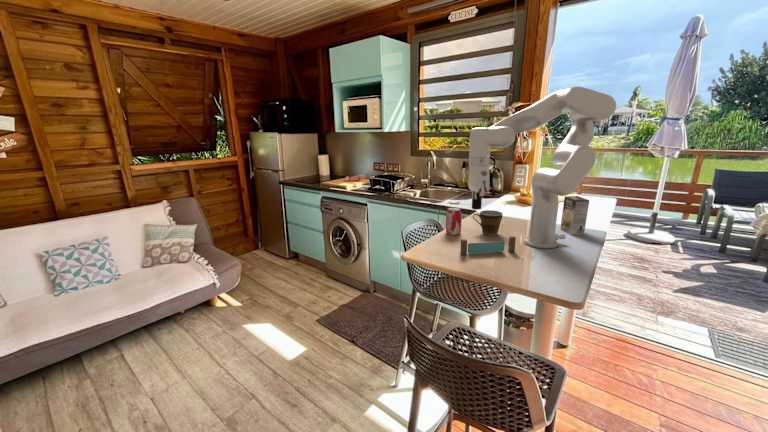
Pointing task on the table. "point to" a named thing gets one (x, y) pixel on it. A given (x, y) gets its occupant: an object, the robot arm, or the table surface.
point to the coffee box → (574, 215)
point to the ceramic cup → (490, 221)
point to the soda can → (453, 221)
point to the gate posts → (510, 247)
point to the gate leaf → (486, 247)
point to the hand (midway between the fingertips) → (476, 208)
